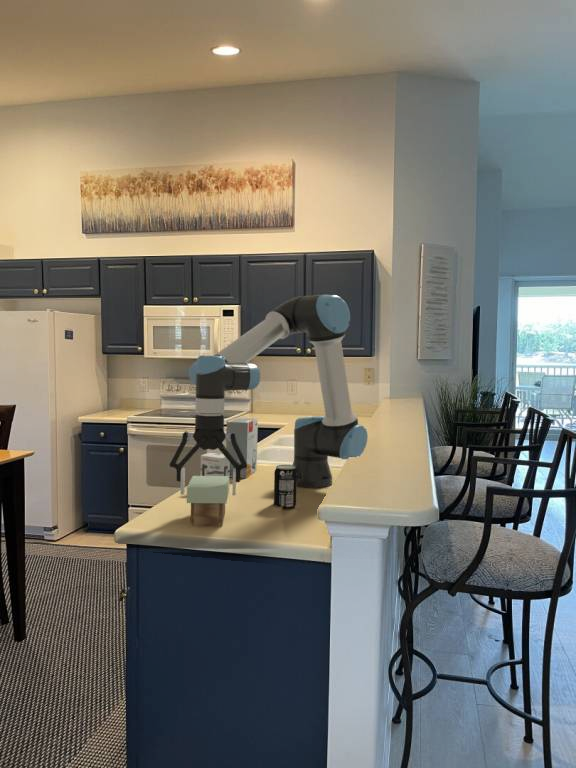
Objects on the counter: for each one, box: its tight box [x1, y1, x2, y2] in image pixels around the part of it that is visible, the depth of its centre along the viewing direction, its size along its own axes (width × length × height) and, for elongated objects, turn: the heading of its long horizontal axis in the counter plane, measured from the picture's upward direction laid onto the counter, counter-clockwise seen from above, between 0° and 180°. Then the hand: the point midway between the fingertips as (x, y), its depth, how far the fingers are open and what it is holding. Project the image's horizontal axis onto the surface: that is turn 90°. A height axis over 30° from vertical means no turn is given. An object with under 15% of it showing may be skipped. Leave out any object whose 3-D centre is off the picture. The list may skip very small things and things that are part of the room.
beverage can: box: [273, 464, 298, 510], centre depth 183 cm, size 7×7×12 cm
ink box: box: [199, 452, 230, 476], centre depth 201 cm, size 9×5×12 cm, turn 62°
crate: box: [190, 503, 226, 528], centre depth 166 cm, size 8×13×7 cm, turn 3°
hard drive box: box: [226, 417, 259, 479], centre depth 228 cm, size 16×8×20 cm, turn 168°
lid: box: [186, 475, 230, 504], centre depth 165 cm, size 10×14×5 cm
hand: (208, 494), depth 165 cm, fingers open, 13 cm apart
